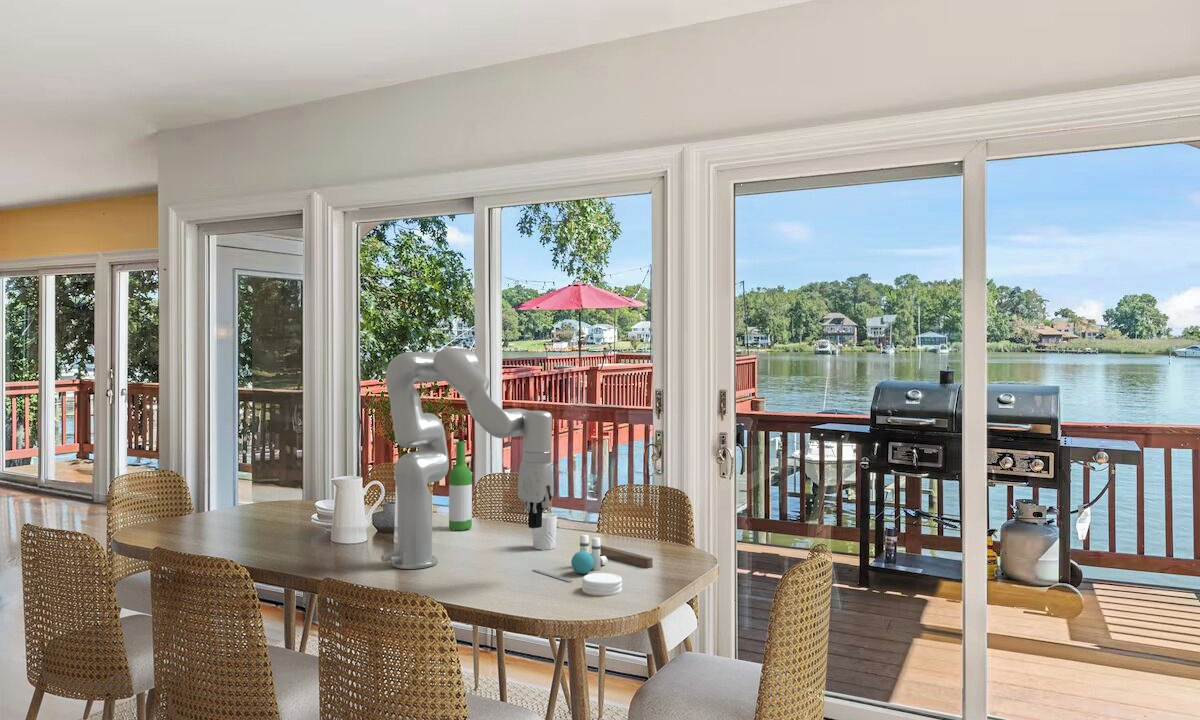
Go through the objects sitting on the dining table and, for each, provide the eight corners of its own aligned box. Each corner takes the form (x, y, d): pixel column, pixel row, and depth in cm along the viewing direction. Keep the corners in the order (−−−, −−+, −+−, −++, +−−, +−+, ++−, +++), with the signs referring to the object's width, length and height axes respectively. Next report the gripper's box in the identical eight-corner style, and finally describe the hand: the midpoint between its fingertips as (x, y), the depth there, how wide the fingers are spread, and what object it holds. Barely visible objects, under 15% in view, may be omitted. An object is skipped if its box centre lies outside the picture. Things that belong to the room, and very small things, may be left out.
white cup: (543, 544, 255) (543, 512, 255) (562, 547, 250) (562, 515, 250) (526, 548, 249) (526, 515, 249) (544, 552, 244) (544, 518, 244)
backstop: (647, 568, 225) (647, 559, 225) (595, 554, 241) (595, 546, 241) (652, 567, 226) (652, 558, 226) (600, 553, 242) (600, 545, 242)
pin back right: (595, 571, 222) (595, 539, 222) (589, 569, 223) (589, 538, 224) (602, 569, 223) (602, 538, 223) (596, 567, 225) (596, 537, 225)
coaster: (574, 592, 201) (574, 578, 201) (596, 583, 210) (596, 570, 210) (607, 599, 196) (607, 584, 196) (629, 589, 204) (629, 575, 204)
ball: (589, 580, 219) (571, 575, 216) (581, 565, 224) (564, 561, 221) (600, 563, 217) (583, 558, 214) (593, 549, 222) (575, 544, 219)
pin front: (584, 562, 222) (607, 556, 228) (579, 559, 224) (601, 554, 230) (584, 571, 222) (607, 565, 228) (578, 568, 224) (601, 563, 230)
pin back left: (583, 567, 225) (583, 537, 225) (578, 565, 227) (578, 535, 227) (590, 566, 227) (590, 535, 227) (584, 564, 229) (584, 534, 229)
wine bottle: (476, 528, 280) (476, 441, 280) (461, 532, 273) (461, 443, 273) (459, 526, 284) (459, 440, 284) (444, 529, 277) (444, 442, 278)
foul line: (569, 582, 210) (569, 581, 210) (532, 570, 222) (532, 570, 222) (572, 581, 211) (572, 580, 211) (535, 570, 223) (535, 569, 223)
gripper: (508, 455, 216) (507, 524, 216) (542, 462, 205) (541, 534, 205) (531, 453, 221) (529, 521, 221) (565, 460, 210) (564, 530, 210)
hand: (535, 527), depth 213 cm, fingers closed
